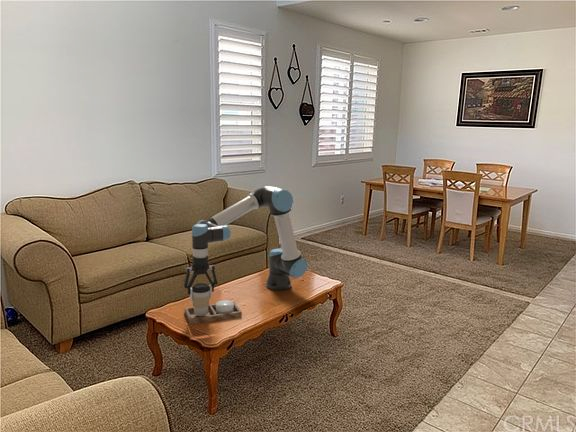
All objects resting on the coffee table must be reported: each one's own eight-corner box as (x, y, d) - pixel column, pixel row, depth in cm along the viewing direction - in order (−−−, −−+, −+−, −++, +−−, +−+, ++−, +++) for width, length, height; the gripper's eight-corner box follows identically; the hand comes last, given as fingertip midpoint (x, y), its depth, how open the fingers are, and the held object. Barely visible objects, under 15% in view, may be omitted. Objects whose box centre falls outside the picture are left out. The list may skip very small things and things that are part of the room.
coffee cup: (190, 310, 224) (189, 282, 220) (208, 308, 227) (207, 280, 224) (194, 318, 215) (193, 289, 212) (212, 315, 219) (211, 286, 216)
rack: (234, 307, 235) (234, 301, 235) (241, 318, 223) (241, 311, 222) (184, 314, 225) (184, 307, 225) (189, 326, 213) (189, 319, 212)
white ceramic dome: (231, 308, 232) (231, 299, 231) (235, 315, 224) (235, 306, 223) (214, 310, 229) (214, 301, 227) (218, 317, 220) (218, 308, 219)
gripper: (220, 251, 222) (220, 293, 227) (176, 255, 214) (177, 299, 219) (224, 256, 216) (224, 299, 220) (178, 260, 207) (180, 304, 212)
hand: (200, 299), depth 220 cm, fingers closed on coffee cup, 9 cm apart
